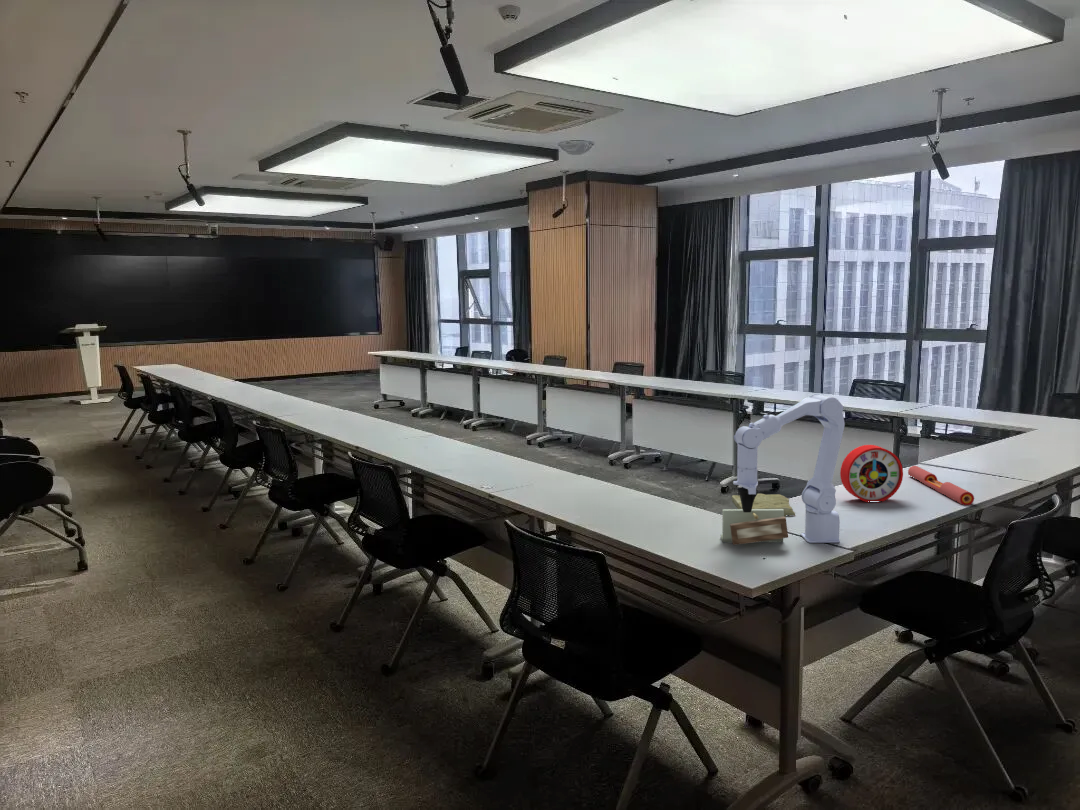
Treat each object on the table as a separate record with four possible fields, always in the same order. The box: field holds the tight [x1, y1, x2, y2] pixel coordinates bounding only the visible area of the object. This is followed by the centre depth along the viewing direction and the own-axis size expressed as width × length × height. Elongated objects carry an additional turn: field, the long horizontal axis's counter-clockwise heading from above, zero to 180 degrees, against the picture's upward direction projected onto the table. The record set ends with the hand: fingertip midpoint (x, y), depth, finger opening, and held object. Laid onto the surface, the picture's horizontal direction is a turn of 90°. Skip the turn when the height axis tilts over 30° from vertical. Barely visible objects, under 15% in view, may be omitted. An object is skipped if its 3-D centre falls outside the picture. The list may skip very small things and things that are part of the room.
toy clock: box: [839, 444, 904, 503], centre depth 264 cm, size 20×6×20 cm, turn 91°
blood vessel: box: [907, 465, 975, 506], centre depth 277 cm, size 42×5×5 cm, turn 176°
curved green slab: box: [720, 508, 785, 543], centre depth 222 cm, size 18×8×10 cm, turn 86°
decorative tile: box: [731, 493, 796, 517], centre depth 258 cm, size 19×20×4 cm
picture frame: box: [730, 516, 789, 546], centre depth 217 cm, size 16×2×6 cm, turn 87°
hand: (746, 511), depth 219 cm, fingers closed
